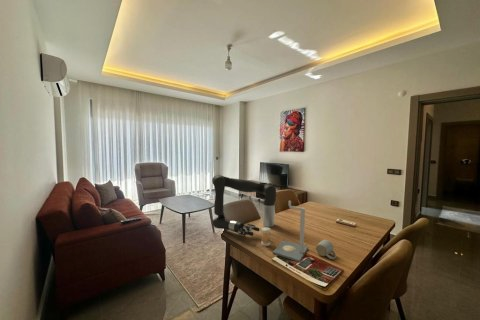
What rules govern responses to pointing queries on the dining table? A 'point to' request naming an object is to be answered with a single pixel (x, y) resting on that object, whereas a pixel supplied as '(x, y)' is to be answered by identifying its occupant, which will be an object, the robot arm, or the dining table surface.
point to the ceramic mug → (325, 249)
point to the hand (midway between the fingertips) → (256, 232)
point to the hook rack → (293, 249)
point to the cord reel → (265, 236)
